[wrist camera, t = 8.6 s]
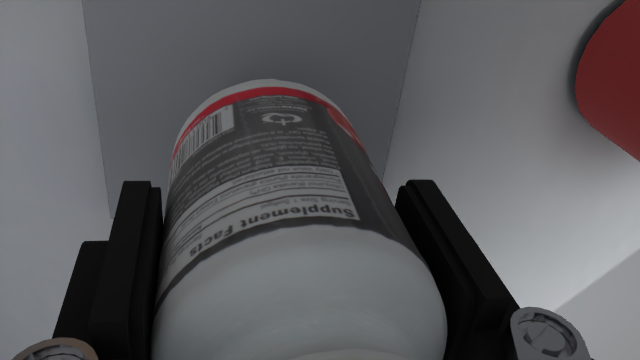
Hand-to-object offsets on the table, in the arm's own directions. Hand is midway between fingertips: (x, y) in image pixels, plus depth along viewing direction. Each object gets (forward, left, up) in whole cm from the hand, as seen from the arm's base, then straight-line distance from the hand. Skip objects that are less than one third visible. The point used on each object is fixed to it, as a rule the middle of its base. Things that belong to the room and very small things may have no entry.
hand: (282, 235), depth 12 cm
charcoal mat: (0, 0, -9) cm, 9 cm away
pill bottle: (0, 0, -4) cm, 4 cm away
